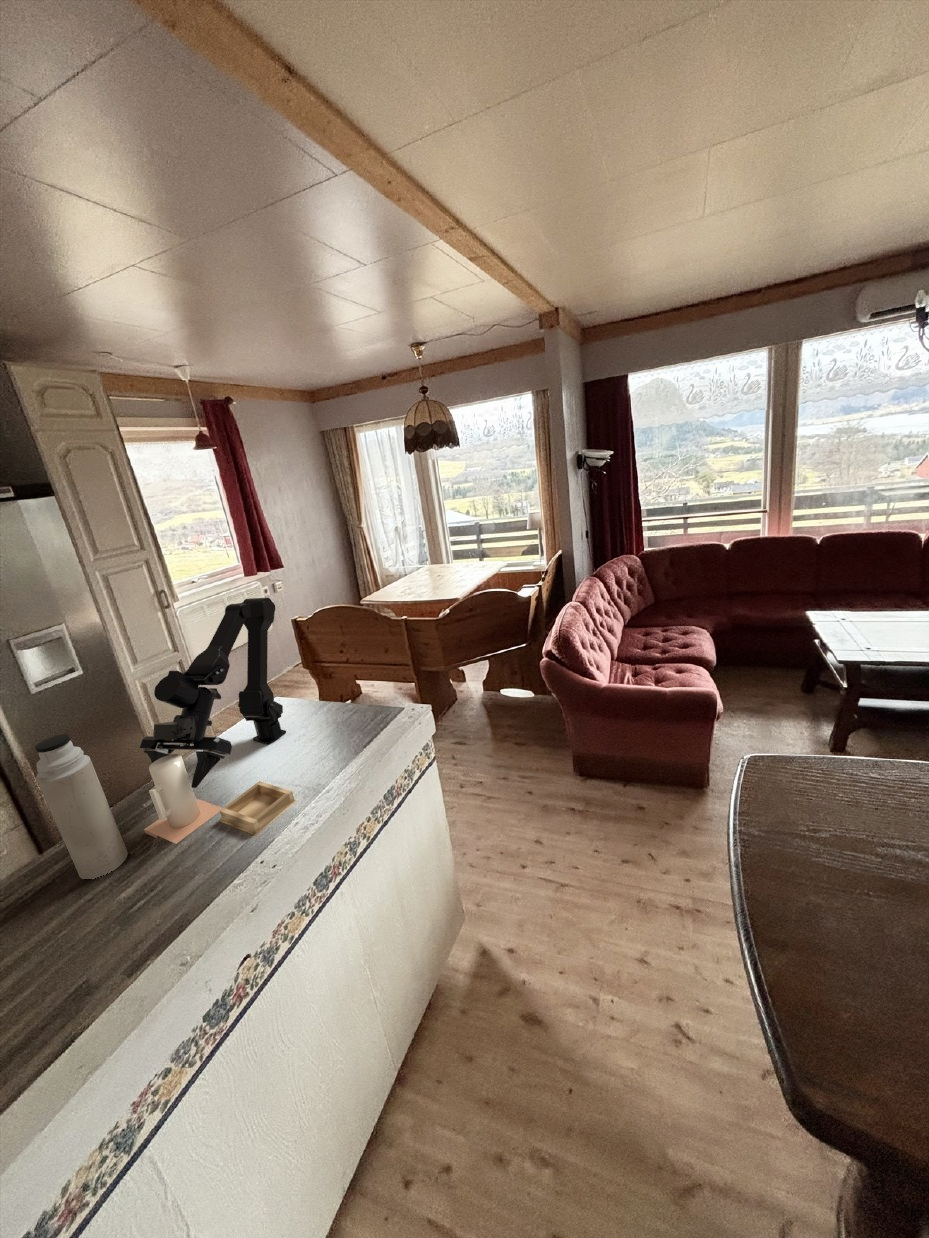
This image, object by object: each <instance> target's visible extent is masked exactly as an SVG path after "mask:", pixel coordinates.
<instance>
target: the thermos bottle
mask: <svg viewBox="0 0 929 1238" xmlns="http://www.w3.org/2000/svg"><path fill="white" fill-rule="evenodd" d="M35 751H36V752H37V753H38V756H39V760H38V761H37V763H36V768H37V770H36V771H37V774H36V777H35V778H36V781H37V784H38V785H39V788H40V791H41V792H42V795H43V798H44V800H45V802H46V804H47V806H48V808H49V811H50V814H51V815H52V817H53V820H54V822H55V824H56V826H57V829H58V831H59V833H60V835H61V838H62V840H63V842H64V844H65V846H66V849H67V850H68V853H69V856H70V858H71V860H72V861H73V865H74V867H75V870H76V871H77V873H78V876H79V878H80V879H82V880H84V879H92V880H96V879H98V878H97V877H99V878H101V877H100V876H102V877H104V876H107V875H108V874H110V873H112V872H113V871H115V870H116V869H118V868H119V867H120V866H121V865H122V864H123V863H124V862H125V861H126V859H127V857H128V849H127V847H126V845H125V842H124V839H123V838H122V835H121V833H120V832H121V831H120V830H119V829H120V828H119V827H118V825H117V822H116V819H115V817H114V815H113V813H112V809H111V808H110V805H109V802H108V800H107V797H106V794H105V792H104V789H103V787H102V785H101V782H100V779H99V778H98V775H97V772H96V769H95V767H94V764H93V762H92V759H91V757H90V756H89V755H87V754H84V750H83V749H82V748H81V747H80V746H74V744H73V742H72V740H71V737H70V735H69V734H66V733H64V734H58V735H54V736H51V737H48V738H46V739H43V740H42V741H39V743H37V744H36V745H35ZM111 871H112V872H111ZM107 873H108V874H107ZM106 874H107V875H106ZM103 875H104V876H103ZM95 878H96V879H95Z"/></svg>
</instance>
